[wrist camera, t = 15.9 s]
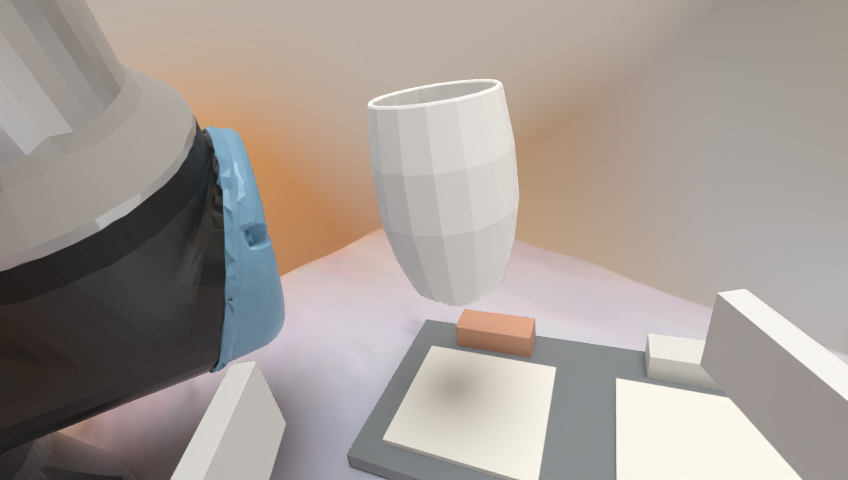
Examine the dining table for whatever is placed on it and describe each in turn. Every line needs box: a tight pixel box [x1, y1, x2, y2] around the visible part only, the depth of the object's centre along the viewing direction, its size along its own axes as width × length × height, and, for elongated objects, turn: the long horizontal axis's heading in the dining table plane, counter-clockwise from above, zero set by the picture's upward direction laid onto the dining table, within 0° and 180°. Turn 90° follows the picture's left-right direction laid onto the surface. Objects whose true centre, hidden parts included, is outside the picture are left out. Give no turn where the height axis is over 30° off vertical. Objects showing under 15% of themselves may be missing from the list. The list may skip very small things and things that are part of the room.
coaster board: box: [347, 309, 802, 480], centre depth 26 cm, size 28×14×3 cm, turn 67°
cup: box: [367, 79, 519, 306], centre depth 23 cm, size 7×7×21 cm
